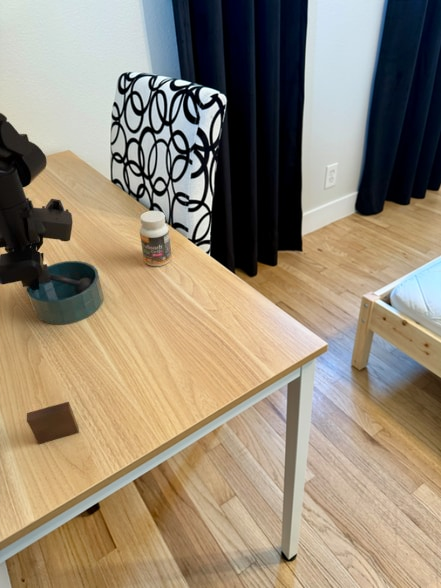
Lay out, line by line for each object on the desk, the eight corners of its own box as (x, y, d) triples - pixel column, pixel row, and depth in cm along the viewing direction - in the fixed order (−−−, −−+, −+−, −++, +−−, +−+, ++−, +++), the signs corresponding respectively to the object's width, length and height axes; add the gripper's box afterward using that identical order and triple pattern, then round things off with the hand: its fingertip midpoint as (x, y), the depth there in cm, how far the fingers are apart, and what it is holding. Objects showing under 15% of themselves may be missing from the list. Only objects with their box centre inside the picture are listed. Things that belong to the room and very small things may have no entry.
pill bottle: (140, 266, 86) (133, 222, 80) (148, 251, 90) (141, 208, 84) (168, 268, 85) (163, 223, 79) (174, 252, 90) (170, 209, 83)
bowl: (34, 331, 71) (25, 308, 68) (35, 290, 80) (27, 268, 77) (107, 315, 74) (101, 292, 71) (99, 277, 83) (94, 255, 80)
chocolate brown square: (38, 444, 55) (26, 420, 51) (38, 436, 55) (26, 412, 52) (78, 432, 56) (69, 408, 53) (78, 425, 57) (68, 401, 54)
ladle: (97, 288, 80) (89, 253, 75) (99, 299, 77) (91, 264, 72) (31, 301, 77) (19, 266, 72) (31, 313, 74) (18, 277, 69)
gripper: (65, 219, 59) (89, 307, 68) (59, 170, 73) (80, 249, 82) (-24, 234, 56) (15, 323, 65) (-12, 180, 70) (19, 260, 80)
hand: (36, 285), depth 73 cm, fingers closed on ladle, 2 cm apart
